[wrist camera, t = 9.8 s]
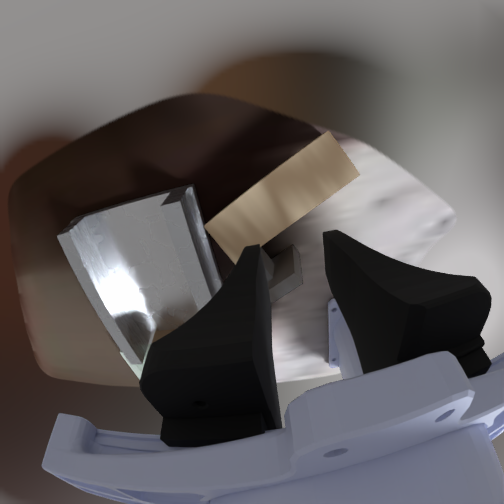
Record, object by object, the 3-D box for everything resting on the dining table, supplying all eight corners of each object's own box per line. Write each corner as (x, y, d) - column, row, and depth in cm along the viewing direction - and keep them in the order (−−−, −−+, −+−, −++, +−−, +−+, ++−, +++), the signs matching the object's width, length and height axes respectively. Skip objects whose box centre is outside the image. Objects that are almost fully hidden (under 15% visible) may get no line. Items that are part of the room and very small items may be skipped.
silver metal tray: (237, 327, 25) (236, 355, 22) (136, 338, 25) (128, 364, 22) (194, 183, 18) (185, 200, 15) (75, 217, 19) (53, 236, 16)
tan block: (268, 273, 22) (367, 204, 19) (263, 308, 17) (392, 220, 14) (218, 212, 21) (319, 135, 18) (197, 231, 16) (331, 128, 13)
